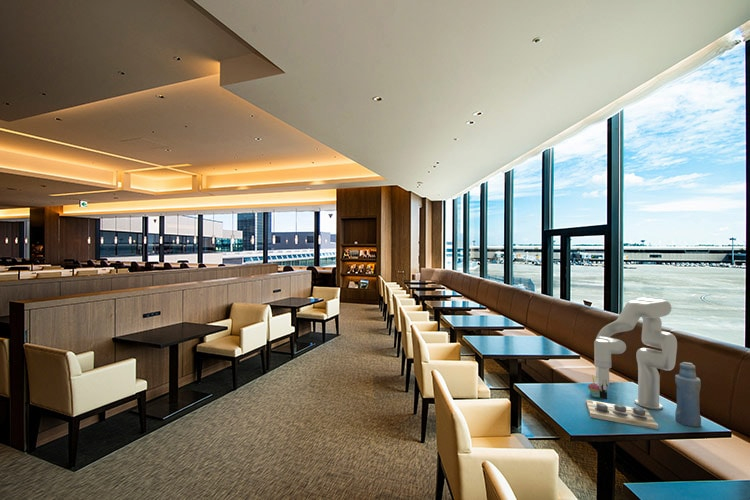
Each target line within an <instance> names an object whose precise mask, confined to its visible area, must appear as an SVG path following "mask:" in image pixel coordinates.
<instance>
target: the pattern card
mask: <svg viewBox="0 0 750 500" xmlns="http://www.w3.org/2000/svg"><path fill="white" fill-rule="evenodd" d="M596 401H597V400H592V402H593V404H594V405H596V404H604V405H607V406H608V407H610V408H614V404H615V403H610V404H608V403H609V402H604V403H602V402H603V401H602V402H601V401H598V402H596ZM624 406H625V407H626V406H627V405H624ZM632 407H633V406H628V407H626V410H628V411H633V408H632Z"/></svg>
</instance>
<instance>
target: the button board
mask: <svg viewBox="0 0 750 500" xmlns="http://www.w3.org/2000/svg"><path fill="white" fill-rule="evenodd" d="M592 401H593V400H591V399H585V404H586V409H587V410H588V414H589V416H590V418H592V419H593V418H594V419H599V420H606V421H611V422H616V423H622V424H627V425H632V426H637V427H643V428H648V429H653V430H659V424H658V423H657V422H656V421H655V419H654V418H653V416H652V415H651V414H650V412H649V411H648V409H647V408H643V409H644V410H645V416H640V415H637V414H634V413H633V411H628V410H626V412H618V411H616V410H615V409H614V408H610V407H608V411H600V410H598V409H597V408H596V405H594V404H593V402H592ZM595 401H596V402H599V401H597V400H595ZM602 403H605V402H603V401H602ZM607 403H608V404H611V403H609V402H607ZM613 404H614V405H616V404H615V403H613ZM625 406H626V407H629V406H628V405H625ZM631 407H632V408H635V407H633V406H631Z"/></svg>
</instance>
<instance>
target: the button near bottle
mask: <svg viewBox="0 0 750 500" xmlns="http://www.w3.org/2000/svg"><path fill="white" fill-rule="evenodd" d="M644 409H645V408H641V407H634V408H633V413H634V414H637V415H640V416H645V410H644Z"/></svg>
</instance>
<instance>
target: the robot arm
mask: <svg viewBox="0 0 750 500" xmlns="http://www.w3.org/2000/svg"><path fill="white" fill-rule="evenodd" d="M671 312H672V305H671V303H670V302H669V301H667V300H665V299H656V298H649V297H648V298H647V297H638V298H636V299H634V300H629V301H627V302H626V303H625V305H624V307H623V308H622V311H621V312H620V314H619V315H618V316H617V319H616V320H614V321H613V322H610V323H608V324H606V325H604V326H603V327H602V328H601V329H600V330H599V331H598V333H597V335H596V338H595V340H594V341H593V346H594V347H593V348H594V351H593V352H594V356H593V357H594V367H596V370H595V383H596V384H597V385H598V386H599V387H600V390H599V392H600V397H599V398H600V399H601V400H608V388H610V369H611V368H612V354H613V355H621V354H623V353H624V352H625V351H626V350H627V345H626V343H625V341H623V340H621V339H618V338H614V337H612V336H613V335H615V334H618V333H623V332H629V331H632V330H634V329H635V327H636V325H637V323H638V322H639V321H640V318H641V319H642V327H641V328H642V329H641V342H642V344H643V345H646V346H649V347H653V348H657V349H660V350H657V349H652V348H648V347H641V348H638V349H637V351H636V353H635V354H636V362H637V370H638V372H637V374H638V375H637V377H638V378H637V379H638V380H637V398H636V399H634V404H636V405H637V406H639V407H643V408H644V409H648V410H649V409H650V410H656V411H657V410H663V408H664V406H663V404H661V403H660V379H661V378H660V377H661V376H660V372H659V371H658V370H663V371H672V370H674V368H675V366H676V360H677V351H678V341H677V340H678V339H677V338H676V336H675V335H674V334H673V333H671V332H668V331H663V330H662V328H663V327H662V325H663V322H662V317H666V316H668V315H670V313H671Z"/></svg>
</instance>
